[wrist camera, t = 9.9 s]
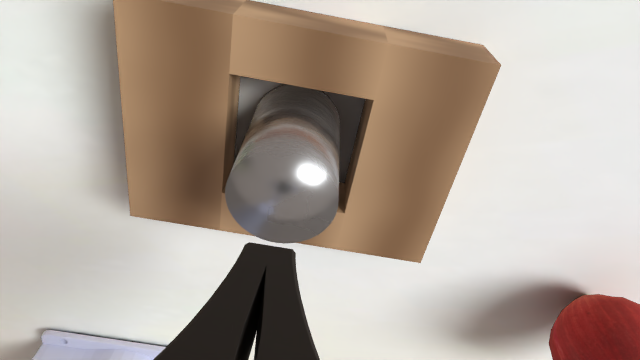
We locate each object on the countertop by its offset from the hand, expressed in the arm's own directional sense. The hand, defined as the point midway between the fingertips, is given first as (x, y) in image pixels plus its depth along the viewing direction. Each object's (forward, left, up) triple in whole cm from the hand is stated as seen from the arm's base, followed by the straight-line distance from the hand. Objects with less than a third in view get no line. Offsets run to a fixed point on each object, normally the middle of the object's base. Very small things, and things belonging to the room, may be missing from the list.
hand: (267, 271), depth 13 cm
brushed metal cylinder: (0, 0, -10) cm, 10 cm away
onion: (+18, -8, -10) cm, 22 cm away
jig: (0, 0, -10) cm, 10 cm away
